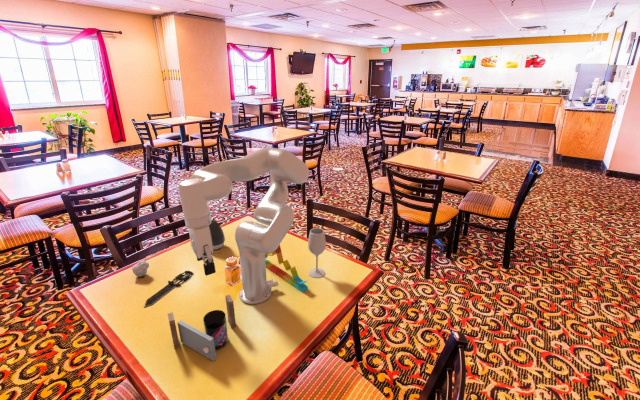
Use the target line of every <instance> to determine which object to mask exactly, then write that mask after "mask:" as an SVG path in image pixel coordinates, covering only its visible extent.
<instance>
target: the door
mask: <svg viewBox="0 0 640 400" xmlns="http://www.w3.org/2000/svg"><path fill="white" fill-rule="evenodd" d="M176 323H177V328H178V333H179V339H180V343H182V344H184V345H185V346H187V347H189V348H190V349H192V350H193V351H195V352H197V353H199V354H200V355H203V356H204V357H205V358H207V359H209V360H211V361H212V362H214V361H216V360H217V354H216V349H215V345H214V338H212V337H210V336H209V335H207V334H206V333H205V332H203V331H201V330H199V329H197V328H196V327H194V326H192V325H190V324H188V323H186V322H184V321H182V320H179V321H178V322H176Z"/></svg>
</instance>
